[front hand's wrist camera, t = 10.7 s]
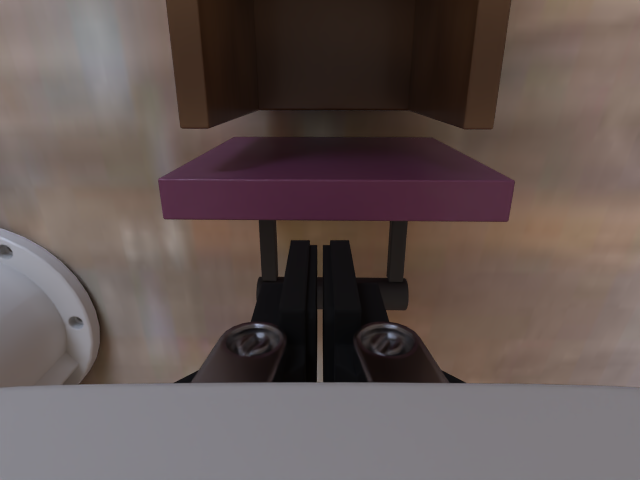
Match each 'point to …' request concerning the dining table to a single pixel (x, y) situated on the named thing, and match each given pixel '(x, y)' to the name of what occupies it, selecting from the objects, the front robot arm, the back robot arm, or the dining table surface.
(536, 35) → the dining table surface
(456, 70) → the drawer
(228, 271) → the dining table surface
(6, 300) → the front robot arm
